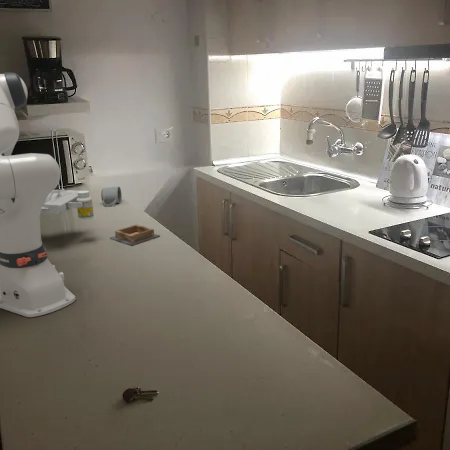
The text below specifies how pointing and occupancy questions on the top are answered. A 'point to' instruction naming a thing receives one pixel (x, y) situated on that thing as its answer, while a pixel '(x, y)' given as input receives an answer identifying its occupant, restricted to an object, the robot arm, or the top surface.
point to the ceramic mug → (111, 196)
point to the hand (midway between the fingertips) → (86, 202)
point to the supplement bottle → (85, 205)
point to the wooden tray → (134, 235)
